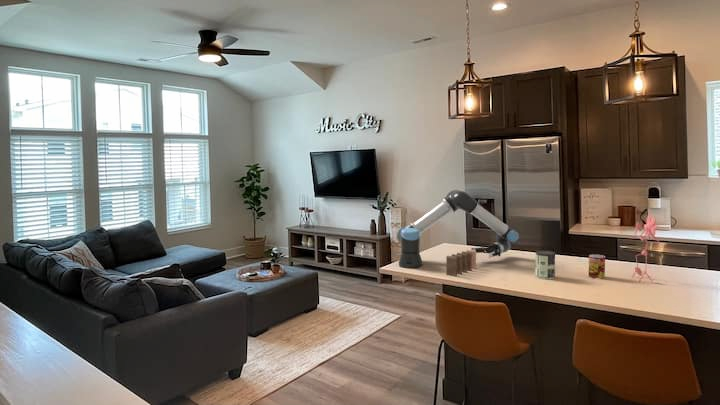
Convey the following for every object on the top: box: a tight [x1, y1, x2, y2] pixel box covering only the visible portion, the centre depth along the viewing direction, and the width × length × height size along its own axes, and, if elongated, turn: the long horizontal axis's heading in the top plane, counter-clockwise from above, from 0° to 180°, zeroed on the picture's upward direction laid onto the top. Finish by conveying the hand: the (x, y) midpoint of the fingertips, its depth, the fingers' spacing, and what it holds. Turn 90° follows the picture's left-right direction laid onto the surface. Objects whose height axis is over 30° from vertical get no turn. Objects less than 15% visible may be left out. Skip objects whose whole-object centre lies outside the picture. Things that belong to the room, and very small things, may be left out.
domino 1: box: [445, 255, 458, 277], centre depth 247 cm, size 2×6×11 cm, turn 45°
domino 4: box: [461, 251, 473, 272], centre depth 258 cm, size 2×6×11 cm, turn 45°
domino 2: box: [451, 253, 463, 275], centre depth 251 cm, size 2×6×11 cm, turn 45°
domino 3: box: [456, 252, 468, 273], centre depth 254 cm, size 2×6×11 cm, turn 46°
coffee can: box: [534, 250, 556, 280], centre depth 239 cm, size 10×10×14 cm
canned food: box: [588, 254, 606, 280], centre depth 237 cm, size 8×8×12 cm
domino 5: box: [465, 249, 477, 270], centre depth 262 cm, size 2×6×11 cm, turn 46°
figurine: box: [631, 215, 660, 283], centre depth 229 cm, size 15×26×35 cm, turn 169°
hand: (479, 254), depth 269 cm, fingers open, 13 cm apart
